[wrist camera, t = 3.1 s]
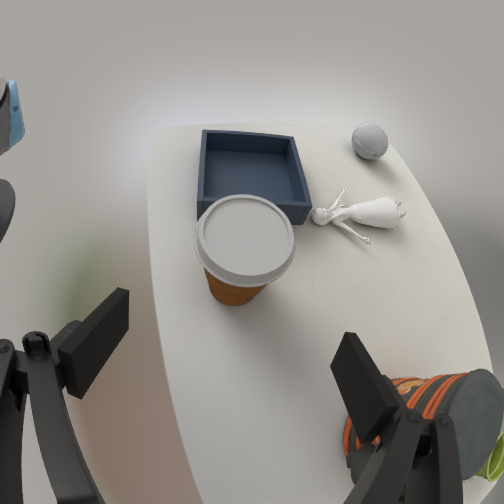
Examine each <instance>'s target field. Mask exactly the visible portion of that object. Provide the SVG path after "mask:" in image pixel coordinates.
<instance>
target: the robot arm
mask: <svg viewBox="0 0 504 504" xmlns="http://www.w3.org/2000/svg"><path fill="white" fill-rule="evenodd" d="M24 134H25V128H24V122H23V117H22V112H21V107H20V101H19V96H18V90H17V85H16V81H15V80H12V81H8V82H7V83H6V81H5V79H4V77H3V76H2V75H0V155H2V154H3V153H4V152H6V151H8V150H9V149H11V147H12V146H14V145H15V144H16V143H18V142H19V141H20V140H21V139H22V138H23V136H24ZM128 329H129V290H126V289H122V288H117V289H116V290H115V291H114V292H113V293H111V294H110V295H109V296H108V297H107V298H106V299H105V300H104V301H103V302H102V303H101V304H100V305H99V306H98V307H97V308H96V309H95V310H94V311H93V312H92V313H91V314H90V315H89V316H88V317H87V318H86V319H85V320H84V321H83V322H81V321H78V320H75V321H72V322H70V323H68V324H67V325H66V326H65V327H64V328H63V330H61V331H60V332H59V333H58V334H57V335H55V337H53V338H52V339H51V341H49V339H48V336H47V335H46V334H45V333H42V332H39V331H33V332H29V333H28V334H26V335H25V336H24V337H23V339H22V343H23V347H24V350H25V352H22V351H18V350H15V348H14V345H13V343H12V342H11V341H10V340H7V339H0V504H23V493H22V474H21V455H22V433H23V422H24V412H25V405H26V398H27V394H29V395H30V402H31V408H32V414H33V419H34V425H35V429H36V434H37V439H38V442H39V447H40V451H41V454H42V458H43V461H44V465H45V468H46V471H47V474H48V477H49V480H50V483H51V486H52V489H53V491H54V494H55V496H56V499H57V504H105V502H104V500H103V498H102V496H101V494H100V493H99V491H98V488H97V486H96V485H95V482H94V480H93V478H92V476H91V474H90V471H89V469H88V467H87V465H86V462H85V460H84V457H83V455H82V452H81V450H80V447H79V445H78V442H77V439H76V436H75V433H74V430H73V427H72V424H71V421H70V418H69V414H68V411H67V408H66V404H65V401H64V397H63V393H62V390H63V388H64V387H65V386H66V388H67V392H68V394H70V395H72V396H74V397H77V398H79V399H82V398H83V396H84V395H85V393H86V392H87V390H88V389H89V387H90V385H91V384H92V382H93V381H94V379H95V378H96V376H97V374H98V373H99V372H100V370H101V369H102V367H103V366H104V364H105V363H106V361H107V360H108V358H109V357H110V355H111V354H112V352H113V351H114V349H115V348H116V347H117V345H118V343H119V342H120V341H121V339H122V338H123V337H124V335H125V333H126V332H127V331H128ZM330 367H331V370H332V372H333V375H334V377H335V380H336V382H337V385H338V388H339V390H340V393H341V395H342V398H343V400H344V403H345V406H346V408H347V411H348V413H349V416H350V419H351V421H352V424H353V427H354V429H355V432H356V435H357V437H358V440H359V443H360V444H361V443H370V442H373V441H374V440H375V439H376V437H377V436H378V435H379V437H380V442H379V443H378V444H377V445H376V446H375V448H374V449H373V450H372V451H371V452H370V453H373V454H372V456H371V458H370V460H369V462H368V463H367V465H366V467H365V469H364V471H363V473H362V474H361V476H360V478H359V479H358V481H357V483H356V485H355V486H354V488H353V489H352V491H351V493H350V494H349V496H348V497H347V499H346V501H345V502H344V504H397V502H398V499H399V497H400V495H401V492H402V490H403V487H404V485H405V482H406V479H407V483H406V493H405V502H404V504H463V489H462V475H461V465H460V457H459V449H458V443H457V437H456V431H455V426H454V422H453V419H452V418H451V417H450V416H449V415H447V414H445V413H438V414H437V415H436V416H435V417H434V419H425V418H423V416H422V414H421V413H420V412H418V411H417V410H415V409H411V408H408V407H407V405H406V403H405V402H404V400H403V399H402V397H401V395H400V394H399V393H398V390H397V389H396V388H395V385H394V384H393V382H392V381H391V380H390V379H389V378H388V377H387V376H386V375H381V373H380V371H379V370H378V368H377V366H376V365H375V363H374V361H373V360H372V358H371V357H370V355H369V353H368V352H367V350H366V349H365V347H364V345H363V344H362V342H361V341H360V339H359V337H358V336H357V334H356V333H351V332H345V333H344V336H343V338H342V341H341V343H340V345H339V348H338V350H337V352H336V354H335V357H334V359H333V361H332V363H331V365H330Z"/></svg>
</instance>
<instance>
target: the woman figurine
mask: <svg viewBox="0 0 504 504" xmlns="http://www.w3.org/2000/svg"><path fill="white" fill-rule="evenodd" d="M346 187H347V186H346ZM346 187H345V188H344V189H343V191H342V193H341V194H340V195H339V197H338V198H337V199H336V200H335V202H334V204H333V205H332V206H330V207H329V209H328V210H327V209H325V208H323V209H321V208H320V209H319V208H316V209H314V210H313V211H312V214H311V218H312V220H313V221H314V222H315V223H316V224H319V225H326V224H327V223H328V222H330V221H332V222H333V223H334V224H335V226H336V225H338V226H340V227H342V228H344V229H346V230H348V231H349V232H350V233H352V234H354V235H355V236H357V237H358V238H360V239H361V240H363V241H364V242H365V243H367V244H370V245H371V243H370V242H369V241H368V240H367V239H369V238H366V237H362V236H360V235H359V234H357V233H356V232H355V231H354V230H353V229H352V228H350V227H349V226H347V225H345V224H344V223H342V221H344V220H346V219H348V218H351V219H352V220H353V221H355V222H357V223H361V224H366V225H371V226H376V227H381V228H389V229H393V228H395V227H397V225H398V221H399V218H403V217H404V216H405V215H406V213H405V211H404V212H403V213H401V214H400V215H399V209H398V206H400V204H401V203H400V202H398V203H396V202H395V201H394V199H393V198H392V197H390V196H385V197H381V198H377V199H373V200H369V201H365V202H360V203H356V204H353V205H352V206H350V207H349V208H345V207H343V206H345V205H340V206H337V205H338V203H339V202H340V199H341V197H342V195H343V193H344V192H345V191H346V190H347V189H348V188H347V189H346Z"/></svg>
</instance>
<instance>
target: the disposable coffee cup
mask: <svg viewBox="0 0 504 504" xmlns="http://www.w3.org/2000/svg"><path fill="white" fill-rule="evenodd" d="M194 248H195V251H196V254H197V257H198V259H199V261H200V263H201V264H202V265H203V266H204V270H205V273H206V277H207V280H208V284H209V288H210V291H211V293H212V294H213V296H214V297H215V298H216V299H217V300H218V301H219V302H221V303H223V304H226V305H229V306H240V305H243V304H246V303H247V302H249V301H250V300H251V299H252V298H253V297H254V296H255V295H256V294H258V293H259V292H260V291H261V290H262V289H263V288H264V287H265V286H266V285H267V284H268V283H271V282H273V281H274V280H276V279H277V278H279V277H280V276H281V275H282V274H283V273H284V272H285V271H286V270H287V269H288V267H289V266H290V264H291V262H292V260H293V257H294V252H295V240H294V233H293V229H292V226H291V224H290V221H289V219H288V218H287V217H286V215H285V214H284V213H283V212H282V211H281V210H280V209H279V208H278V207H277V206H276V205H275V204H273V203H271V202H270V201H268V200H266V199H263V198H261V197H258V196H253V195H246V194H238V195H231V196H227V197H224V198H222V199H220V200H218V201H216V202H215V203H214V204H212V205H211V206H209V208H208V209H207V210H206V212H204V214H203V215H202V216H201V217H200V219H199V221H198V223H197V225H196V227H195V232H194Z"/></svg>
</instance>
